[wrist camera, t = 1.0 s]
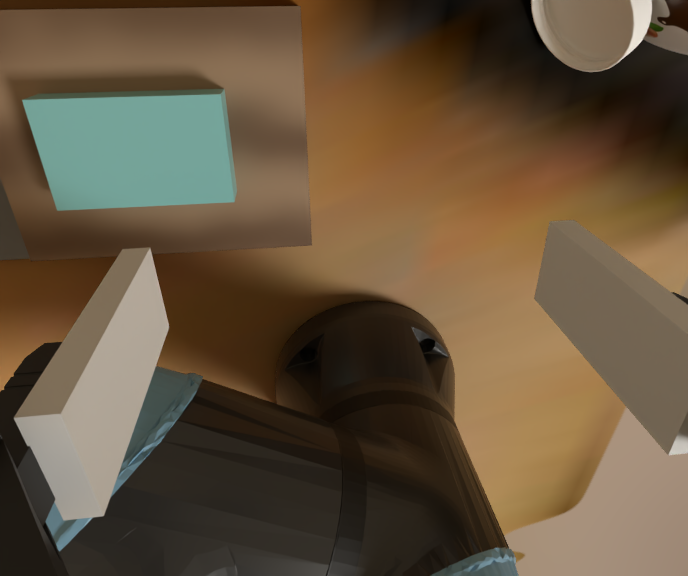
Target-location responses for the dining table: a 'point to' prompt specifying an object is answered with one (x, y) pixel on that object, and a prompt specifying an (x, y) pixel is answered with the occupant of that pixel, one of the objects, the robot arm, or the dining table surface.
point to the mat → (10, 231)
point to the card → (134, 147)
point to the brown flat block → (153, 75)
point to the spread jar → (608, 29)
